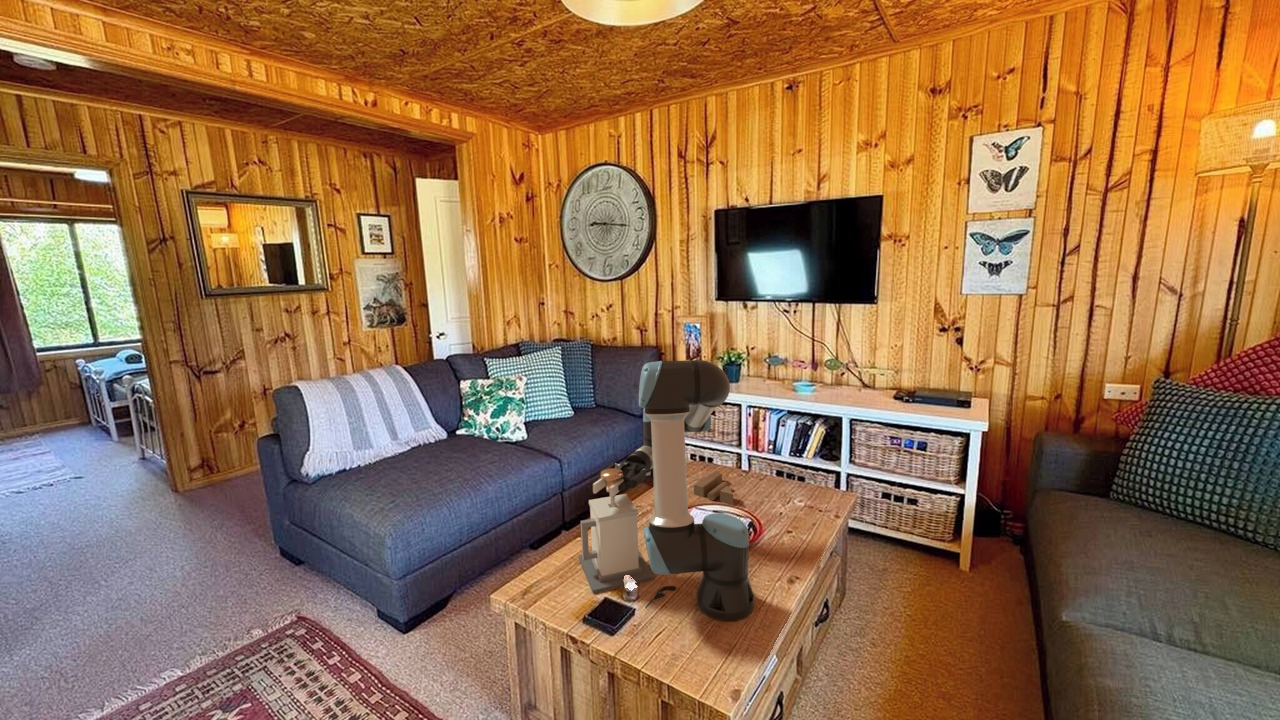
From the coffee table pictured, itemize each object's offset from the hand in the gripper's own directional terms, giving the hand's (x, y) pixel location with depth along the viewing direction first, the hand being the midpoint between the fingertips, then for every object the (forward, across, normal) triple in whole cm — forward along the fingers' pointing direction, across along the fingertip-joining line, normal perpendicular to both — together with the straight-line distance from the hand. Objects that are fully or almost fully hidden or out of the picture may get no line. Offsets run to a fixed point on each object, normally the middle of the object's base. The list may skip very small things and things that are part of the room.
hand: (602, 490), depth 142 cm
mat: (-5, 0, -27) cm, 28 cm away
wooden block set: (-68, -12, -28) cm, 74 cm away
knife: (+2, -18, -28) cm, 33 cm away
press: (-4, +1, -26) cm, 26 cm away
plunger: (-5, 0, -20) cm, 20 cm away
